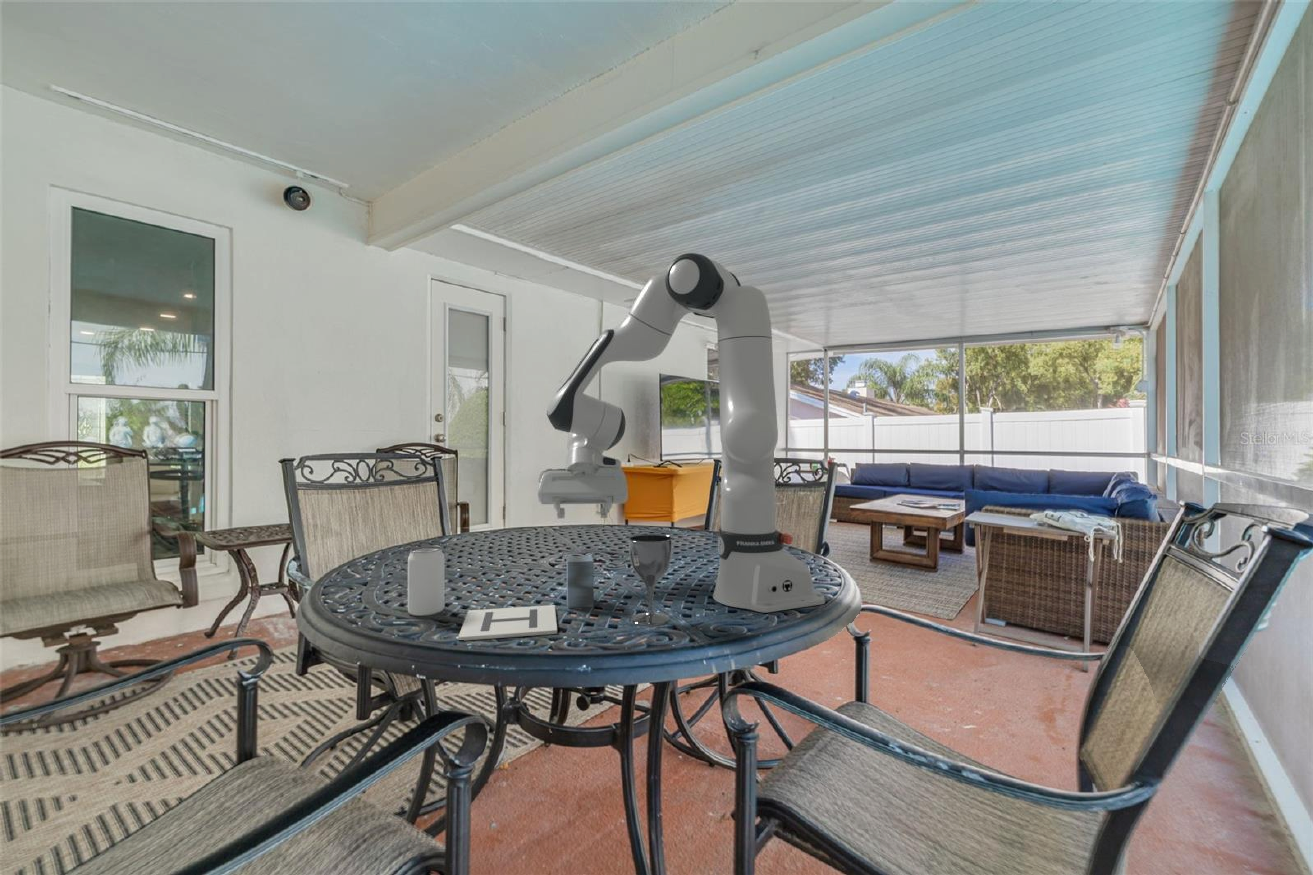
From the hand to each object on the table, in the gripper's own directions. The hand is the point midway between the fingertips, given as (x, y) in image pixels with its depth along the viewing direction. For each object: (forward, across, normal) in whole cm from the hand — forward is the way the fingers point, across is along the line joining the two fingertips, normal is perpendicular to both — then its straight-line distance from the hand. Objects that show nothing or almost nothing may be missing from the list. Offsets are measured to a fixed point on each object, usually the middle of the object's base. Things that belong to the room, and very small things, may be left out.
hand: (582, 516), depth 123 cm
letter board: (+26, -12, -4) cm, 29 cm away
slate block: (+19, 0, +3) cm, 19 cm away
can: (+21, -29, +1) cm, 36 cm away
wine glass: (+27, +13, -4) cm, 30 cm away
